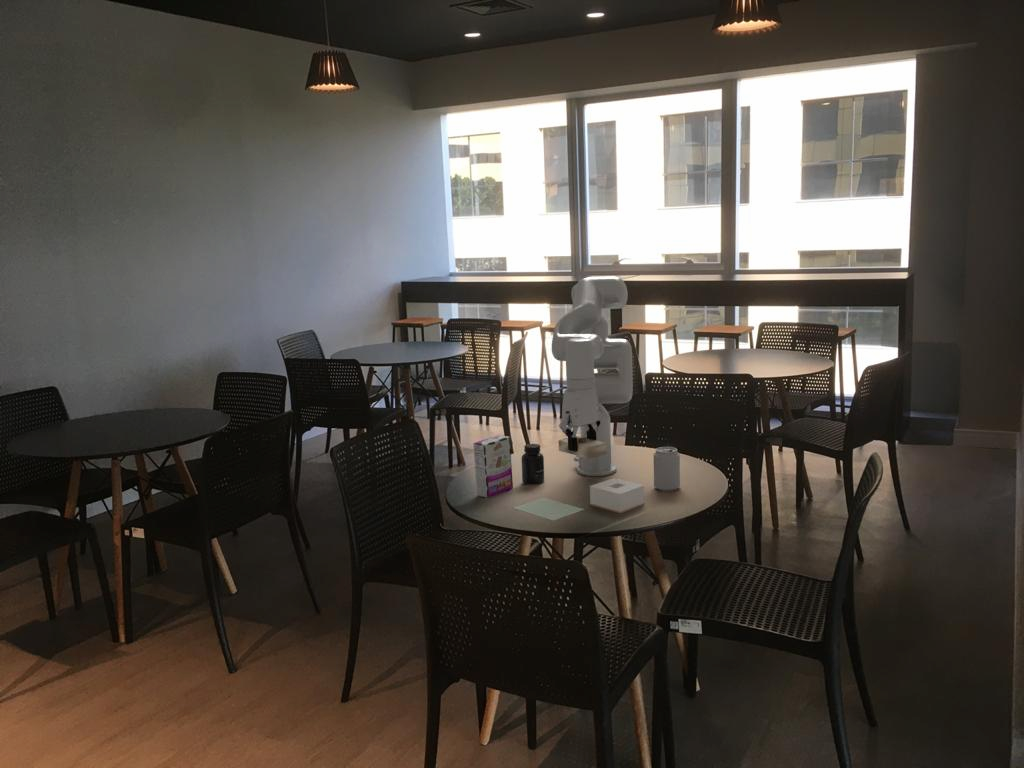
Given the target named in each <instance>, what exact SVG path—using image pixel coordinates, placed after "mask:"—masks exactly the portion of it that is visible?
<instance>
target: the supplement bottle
mask: <svg viewBox="0 0 1024 768" xmlns="http://www.w3.org/2000/svg"><path fill="white" fill-rule="evenodd" d="M523 451H524V453H523V454H522V456H521V479H522V480H521V482H522V484H523V485H525V486H528V485H529V486H532V485H533V486H537V485H541V484H544V482H545V460H544V459H545V458H544V454H543V453H542V452H541V444H538V443H528V444H525V445H524V448H523Z"/></svg>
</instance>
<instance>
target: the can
mask: <svg viewBox="0 0 1024 768" xmlns="http://www.w3.org/2000/svg"><path fill="white" fill-rule="evenodd" d="M680 459H681V458H680V453H679V452H678V449H677V448H676V447H673V446H661V447H657V448H655V452H654V453H653V486H654V488H656V490H658V489H659V490H658V491H660V490H662V491H661V492H674V491H676V490H678V489H679V488H680V486H681V477H680V476H681V472H680V470H681V469H680V468H681V462H680V461H681V460H680ZM673 490H674V491H673Z"/></svg>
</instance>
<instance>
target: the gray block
mask: <svg viewBox="0 0 1024 768" xmlns="http://www.w3.org/2000/svg"><path fill="white" fill-rule="evenodd" d="M589 500H590V502H589V503H590V506H592V507H596V508H600V509H604V510H606V511H607V510H608V511H611V512H615V513H617V514H622V513H625V512H628V511H631V510H633V509H636V508H639V507H642V506H645V485H644V484H640V483H636V482H631V481H627V480H623V479H619V478H616V477H612V478H609V479H607V480H604V481H601V482H597V483H595V484H592V485H589Z"/></svg>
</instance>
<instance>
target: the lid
mask: <svg viewBox="0 0 1024 768" xmlns="http://www.w3.org/2000/svg"><path fill="white" fill-rule="evenodd" d="M576 437H577V438H578V451H577V452H574V451H570V450H568V437H566V438H562V439H559V440H558V451H559V452H562V453H565V454H569V455H574V456H576V455H577V456H581V457H585V458H589V459H590V458H594V457H597V456H601V455H604V454H607V444H606V443H605V442H600V441H596V440H591V439H587V438H586V437H581V436H577V435H576Z"/></svg>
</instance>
